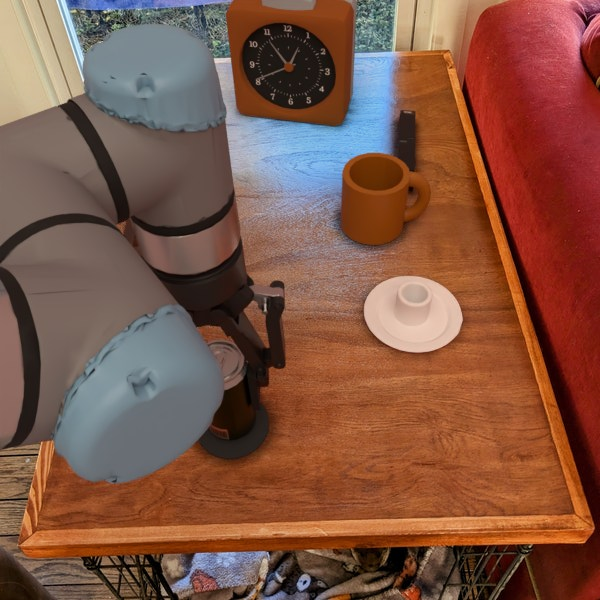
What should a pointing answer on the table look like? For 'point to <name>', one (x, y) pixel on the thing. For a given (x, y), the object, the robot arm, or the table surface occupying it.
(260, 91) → the alarm clock
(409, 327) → the candle holder
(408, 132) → the black long bar
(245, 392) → the beer can
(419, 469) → the table surface
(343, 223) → the mug
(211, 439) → the coaster
